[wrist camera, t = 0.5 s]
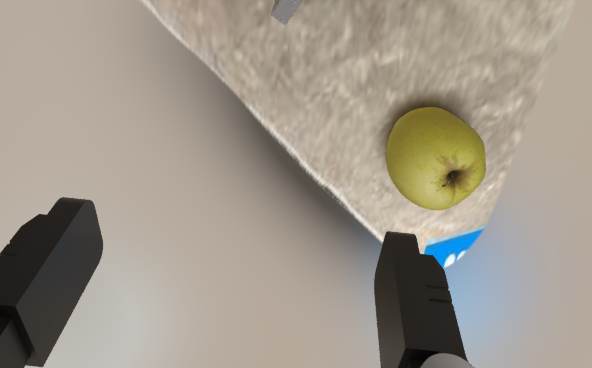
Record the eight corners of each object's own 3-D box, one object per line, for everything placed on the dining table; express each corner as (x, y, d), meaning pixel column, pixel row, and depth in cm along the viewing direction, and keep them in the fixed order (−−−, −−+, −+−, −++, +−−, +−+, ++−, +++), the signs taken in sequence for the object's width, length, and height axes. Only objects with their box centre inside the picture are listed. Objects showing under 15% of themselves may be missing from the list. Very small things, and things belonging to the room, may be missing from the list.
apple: (363, 173, 44) (388, 215, 34) (393, 91, 41) (428, 111, 32) (441, 194, 45) (485, 241, 36) (474, 115, 43) (531, 142, 33)
